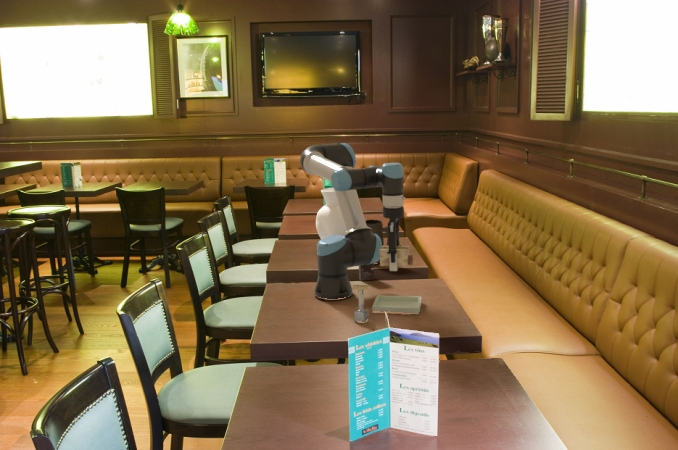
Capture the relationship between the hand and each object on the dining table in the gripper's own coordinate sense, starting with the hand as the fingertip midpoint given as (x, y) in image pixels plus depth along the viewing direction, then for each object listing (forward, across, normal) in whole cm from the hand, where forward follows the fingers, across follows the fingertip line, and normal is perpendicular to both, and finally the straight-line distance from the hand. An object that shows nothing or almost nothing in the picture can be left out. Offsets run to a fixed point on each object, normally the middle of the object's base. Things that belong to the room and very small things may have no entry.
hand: (394, 267), depth 235 cm
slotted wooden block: (-2, 0, 0) cm, 2 cm away
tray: (+16, 0, -1) cm, 16 cm away
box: (+16, +35, +16) cm, 42 cm away
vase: (+15, +93, +41) cm, 103 cm away
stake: (+16, -15, +10) cm, 24 cm away
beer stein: (+16, +62, +15) cm, 66 cm away
